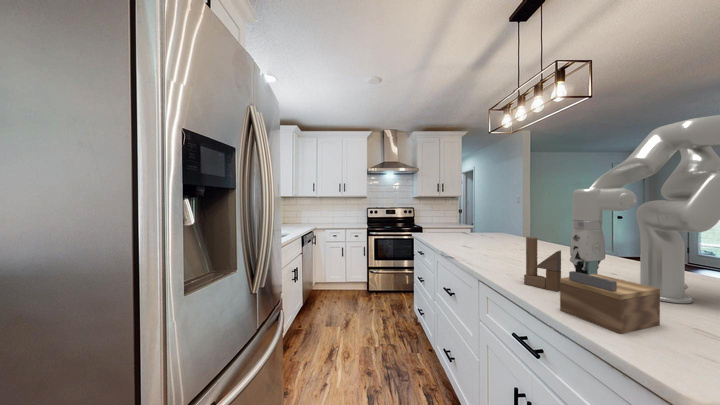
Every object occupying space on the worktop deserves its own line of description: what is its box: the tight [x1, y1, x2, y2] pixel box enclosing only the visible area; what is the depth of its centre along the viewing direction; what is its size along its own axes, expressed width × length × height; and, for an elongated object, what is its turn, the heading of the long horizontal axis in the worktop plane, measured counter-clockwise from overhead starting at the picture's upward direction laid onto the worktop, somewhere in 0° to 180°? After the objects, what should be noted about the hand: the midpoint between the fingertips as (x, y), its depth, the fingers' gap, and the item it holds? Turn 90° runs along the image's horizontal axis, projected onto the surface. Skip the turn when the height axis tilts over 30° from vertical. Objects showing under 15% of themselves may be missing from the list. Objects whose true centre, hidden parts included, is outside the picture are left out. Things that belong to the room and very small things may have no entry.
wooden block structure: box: [523, 236, 562, 293], centre depth 96 cm, size 4×11×18 cm, turn 35°
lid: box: [560, 270, 660, 300], centre depth 71 cm, size 15×14×4 cm
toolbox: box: [559, 283, 661, 335], centre depth 71 cm, size 15×14×8 cm
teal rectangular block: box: [574, 258, 598, 275], centre depth 87 cm, size 4×4×12 cm
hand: (586, 280), depth 87 cm, fingers closed on teal rectangular block, 4 cm apart
